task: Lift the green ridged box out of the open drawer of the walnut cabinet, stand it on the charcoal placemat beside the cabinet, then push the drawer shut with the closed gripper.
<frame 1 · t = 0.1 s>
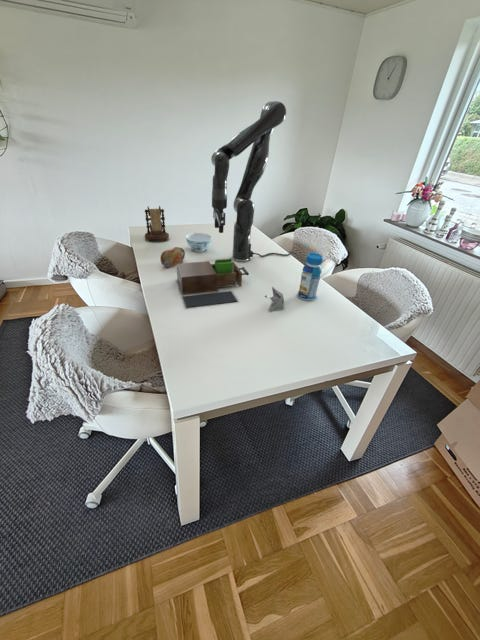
hand: (218, 230, 158), 17 cm above the table, tool pointing down, fingers open, 8 cm apart
cabinet: (196, 285, 142), on the table
placemat: (209, 299, 132), on the table
drawer: (227, 274, 144), point 4 cm above the table, slide at 11.0 cm, touching green ridged box
green ridged box: (223, 279, 144), point 2 cm above the table, touching drawer
chinaware: (199, 250, 179), on the table
tin: (173, 264, 160), on the table
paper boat: (273, 304, 131), on the table
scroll: (157, 239, 191), on the table
beverage bottle: (306, 296, 139), on the table
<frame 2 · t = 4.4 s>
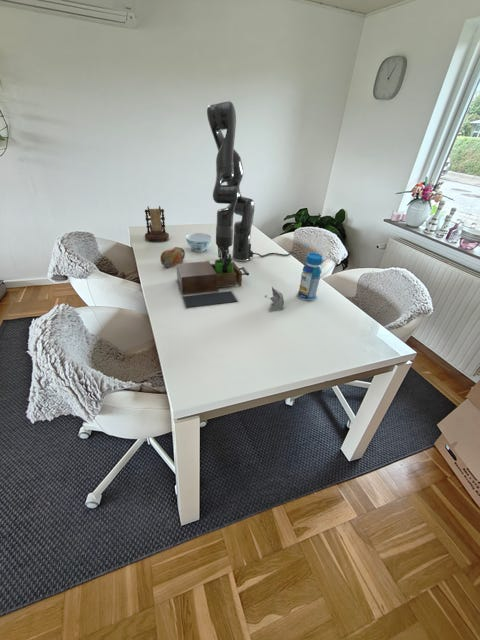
hand: (223, 269, 142), 7 cm above the table, tool pointing down, fingers closed on green ridged box, 4 cm apart
green ridged box: (223, 279, 144), point 2 cm above the table, touching drawer, gripper
everything else where it was.
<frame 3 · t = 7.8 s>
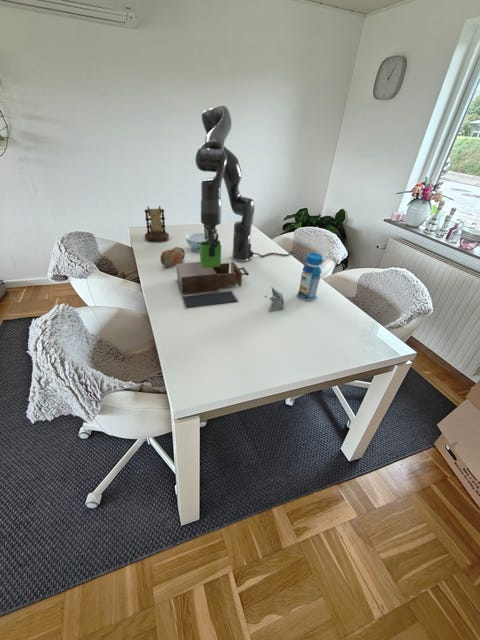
hand: (210, 253, 121), 21 cm above the table, tool pointing down, fingers closed on green ridged box, 4 cm apart
drawer: (227, 274, 144), point 4 cm above the table, slide at 11.0 cm
green ridged box: (210, 265, 124), point 16 cm above the table, touching gripper
everything else where it was.
when the fingers open (5 cm above the table, at t = 11.6 s): green ridged box stays where it is, resting on placemat.
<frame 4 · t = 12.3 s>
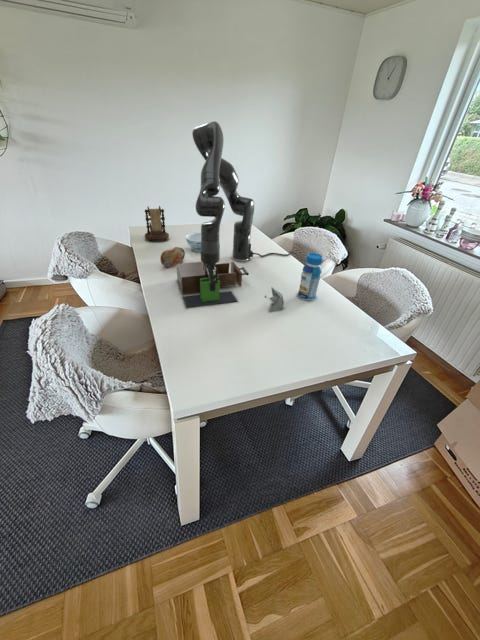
hand: (210, 286, 128), 7 cm above the table, tool pointing down, fingers open, 8 cm apart
green ridged box: (209, 298, 131), resting on placemat
everything else where it was.
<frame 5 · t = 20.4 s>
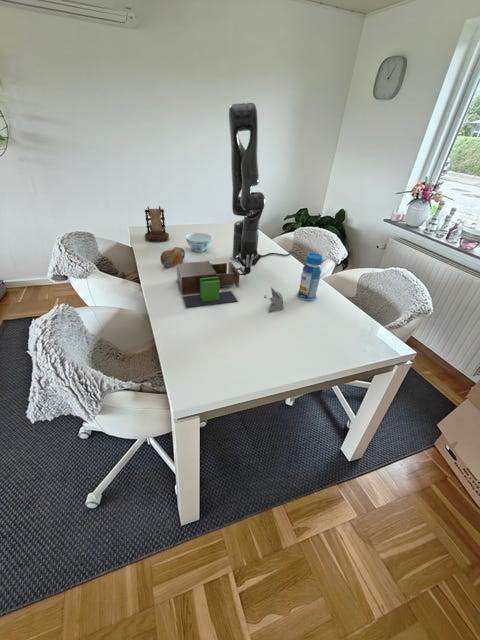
hand: (247, 273, 147), 4 cm above the table, tool pointing down, fingers closed
drawer: (225, 274, 143), point 4 cm above the table, slide at 9.8 cm, touching gripper
everything else where it was.
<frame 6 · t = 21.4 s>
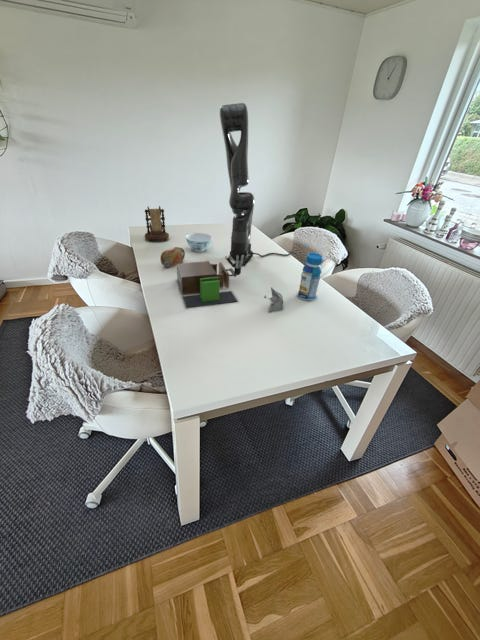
hand: (237, 274, 145), 4 cm above the table, tool pointing down, fingers closed
drawer: (214, 275, 142), point 4 cm above the table, slide at 4.8 cm, touching gripper
everything else where it was.
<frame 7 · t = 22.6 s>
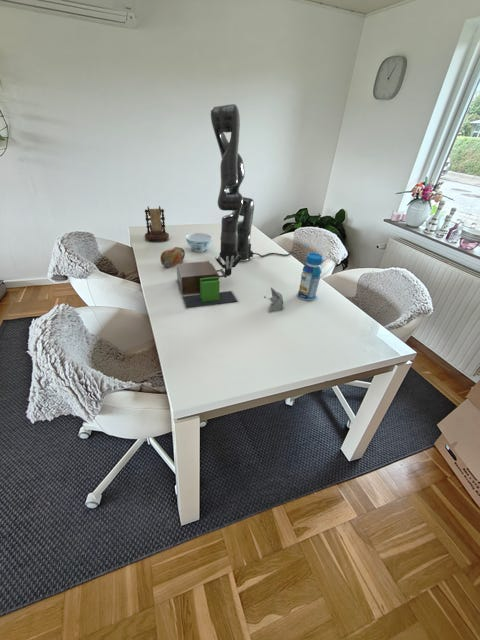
hand: (228, 275, 144), 4 cm above the table, tool pointing down, fingers closed
drawer: (205, 276, 140), point 4 cm above the table, slide at 0.0 cm, touching cabinet, gripper
everything else where it was.
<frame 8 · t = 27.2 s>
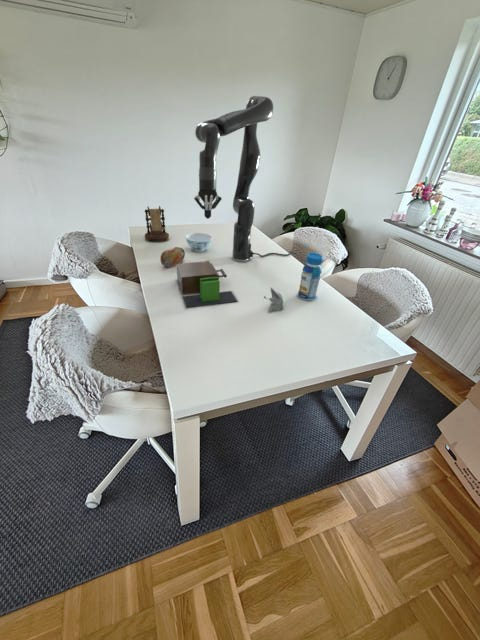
hand: (207, 218, 140), 27 cm above the table, tool pointing down, fingers closed
drawer: (205, 276, 140), point 4 cm above the table, slide at 0.0 cm
everything else where it was.
at the end: green ridged box inside the target area (0.1 cm from its centre), resting on placemat; green ridged box tilted 0°; drawer slide at 0.0 cm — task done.
